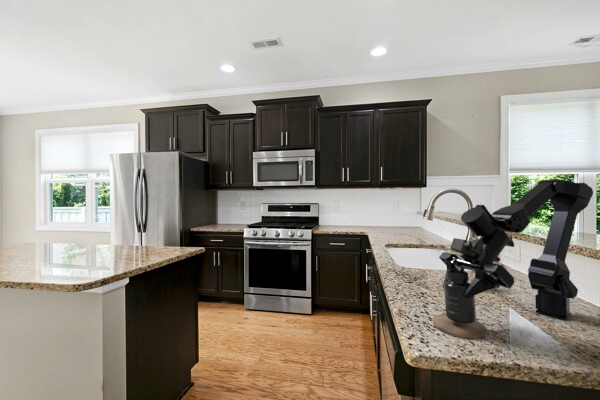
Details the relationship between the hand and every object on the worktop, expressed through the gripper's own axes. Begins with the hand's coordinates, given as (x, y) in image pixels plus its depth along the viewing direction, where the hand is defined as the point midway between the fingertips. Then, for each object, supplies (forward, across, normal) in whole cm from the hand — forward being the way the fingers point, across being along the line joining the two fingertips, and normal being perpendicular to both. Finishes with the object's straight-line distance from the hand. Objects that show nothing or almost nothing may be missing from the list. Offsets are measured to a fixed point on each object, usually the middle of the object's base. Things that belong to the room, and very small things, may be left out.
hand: (454, 292), depth 70 cm
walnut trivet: (+6, 0, +7) cm, 9 cm away
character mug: (-14, -30, +28) cm, 43 cm away
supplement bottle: (+4, 0, +6) cm, 7 cm away
